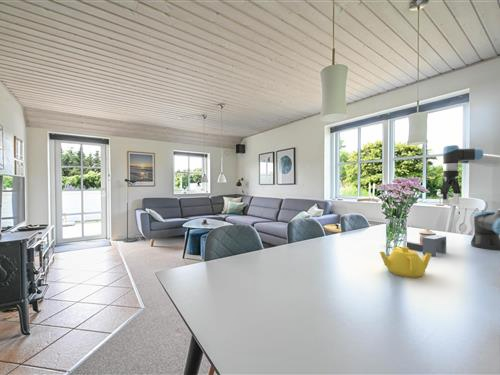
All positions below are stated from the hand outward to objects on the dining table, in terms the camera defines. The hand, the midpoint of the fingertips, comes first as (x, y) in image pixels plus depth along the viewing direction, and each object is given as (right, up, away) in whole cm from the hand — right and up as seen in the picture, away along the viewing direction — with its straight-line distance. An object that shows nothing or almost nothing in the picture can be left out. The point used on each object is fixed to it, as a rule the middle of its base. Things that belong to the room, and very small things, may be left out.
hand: (450, 204), depth 154 cm
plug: (-24, -29, +7) cm, 38 cm away
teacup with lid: (-7, -29, +9) cm, 31 cm away
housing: (-16, -29, -8) cm, 34 cm away
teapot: (-53, -30, -38) cm, 72 cm away
